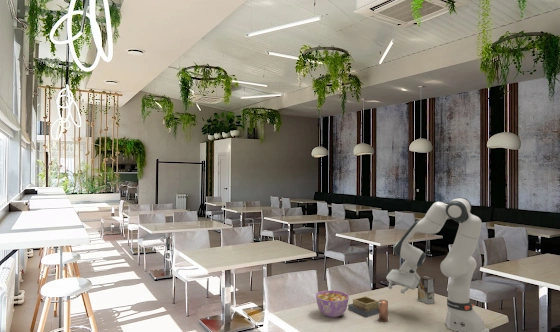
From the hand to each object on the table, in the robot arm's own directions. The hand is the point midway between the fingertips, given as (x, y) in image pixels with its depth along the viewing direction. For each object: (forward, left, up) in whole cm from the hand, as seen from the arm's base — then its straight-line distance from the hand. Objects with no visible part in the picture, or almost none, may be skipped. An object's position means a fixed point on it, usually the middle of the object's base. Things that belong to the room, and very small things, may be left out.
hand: (395, 290), depth 229 cm
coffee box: (+7, -38, -16) cm, 42 cm away
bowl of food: (+22, +31, -15) cm, 41 cm away
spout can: (0, +11, -15) cm, 19 cm away
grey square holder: (+16, +9, -15) cm, 24 cm away
